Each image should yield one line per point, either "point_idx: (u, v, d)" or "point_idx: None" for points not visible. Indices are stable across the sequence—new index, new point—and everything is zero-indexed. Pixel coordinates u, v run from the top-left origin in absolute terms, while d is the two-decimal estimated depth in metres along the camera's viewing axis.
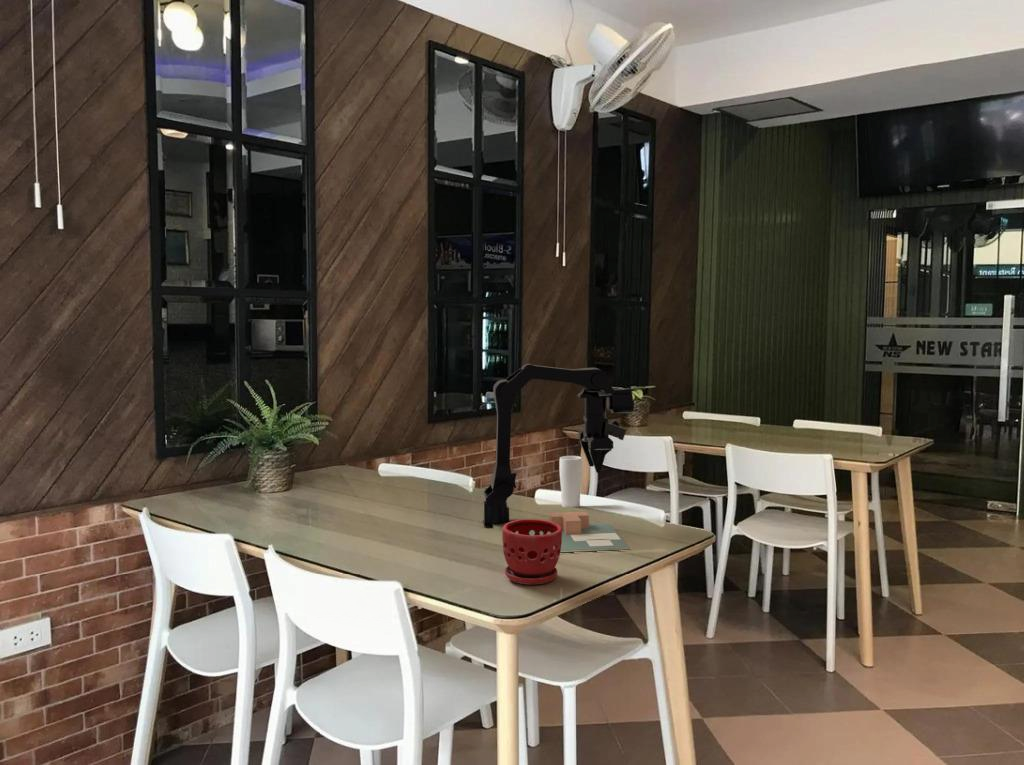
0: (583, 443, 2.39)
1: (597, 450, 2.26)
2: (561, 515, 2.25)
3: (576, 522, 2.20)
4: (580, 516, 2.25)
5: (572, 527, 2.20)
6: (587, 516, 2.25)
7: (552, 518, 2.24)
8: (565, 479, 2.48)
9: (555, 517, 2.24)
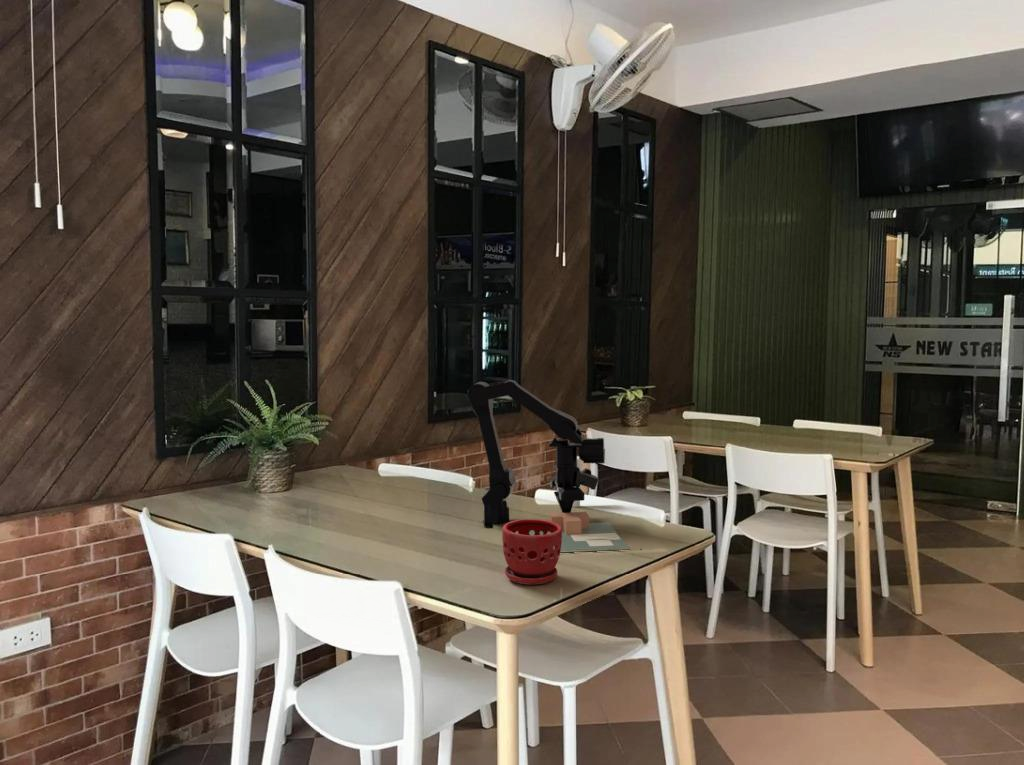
0: None
1: None
2: (561, 515, 2.25)
3: (576, 522, 2.20)
4: (580, 516, 2.25)
5: (572, 528, 2.20)
6: (587, 516, 2.25)
7: (552, 518, 2.24)
8: None
9: (555, 517, 2.24)
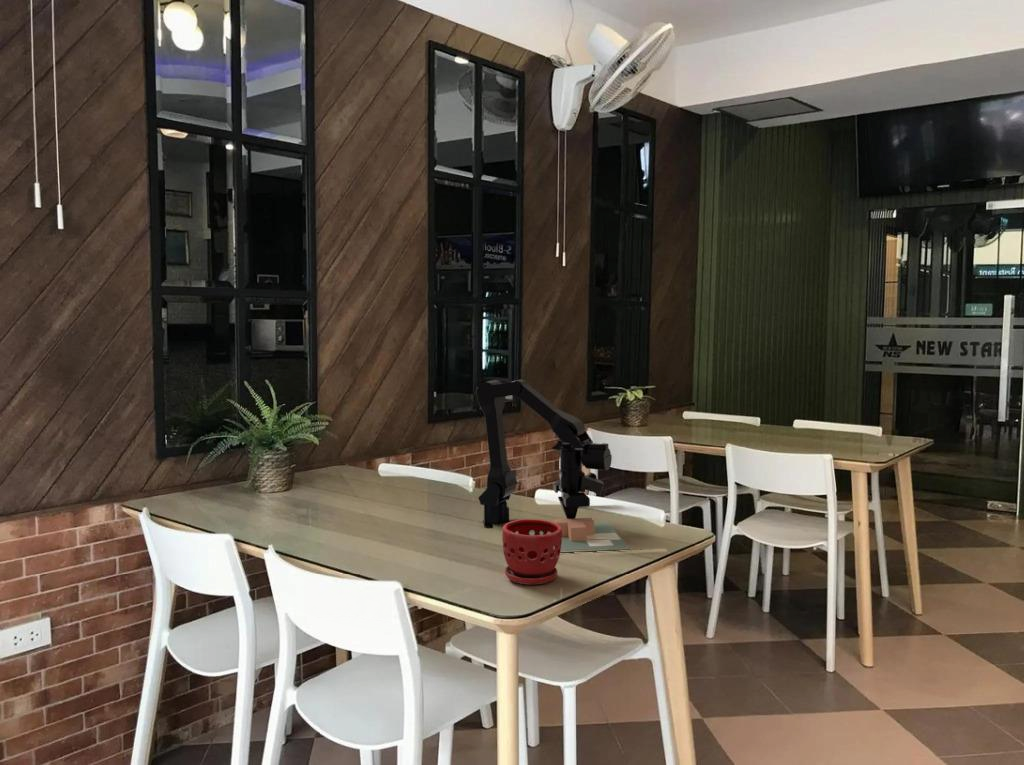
0: None
1: None
2: (566, 521, 2.19)
3: (582, 529, 2.13)
4: (585, 522, 2.19)
5: (577, 534, 2.13)
6: (592, 522, 2.19)
7: None
8: None
9: (560, 523, 2.18)
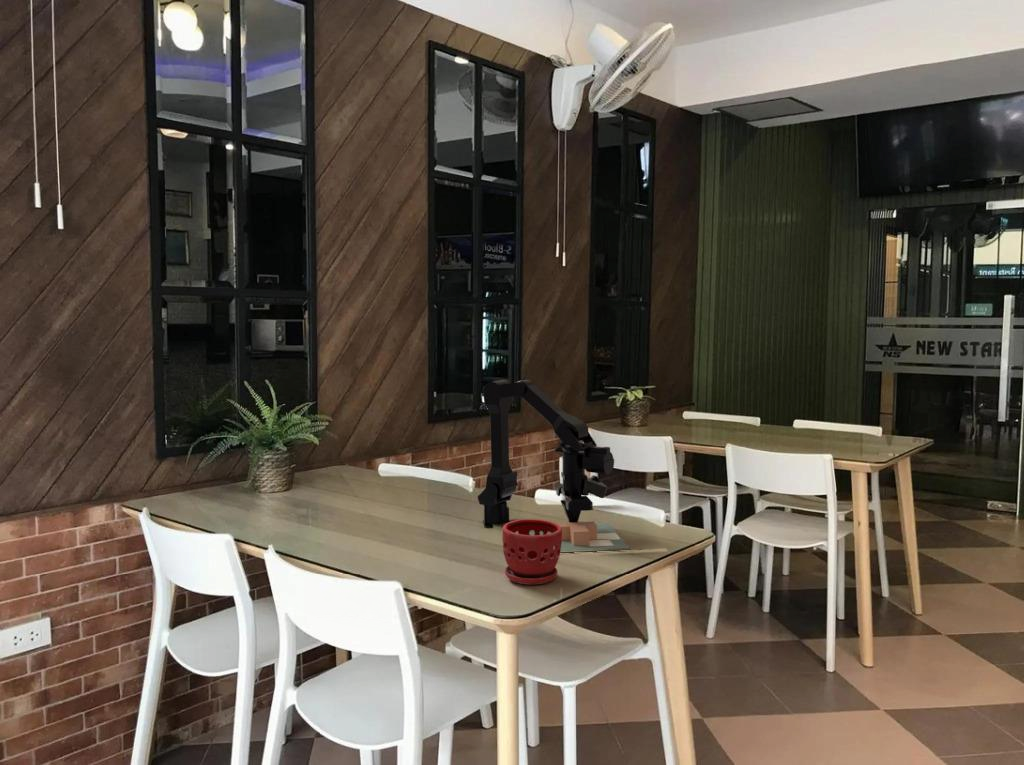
0: (564, 504, 2.19)
1: None
2: (568, 525, 2.15)
3: (584, 533, 2.10)
4: (588, 526, 2.15)
5: (580, 538, 2.10)
6: (595, 526, 2.15)
7: None
8: None
9: (562, 527, 2.14)
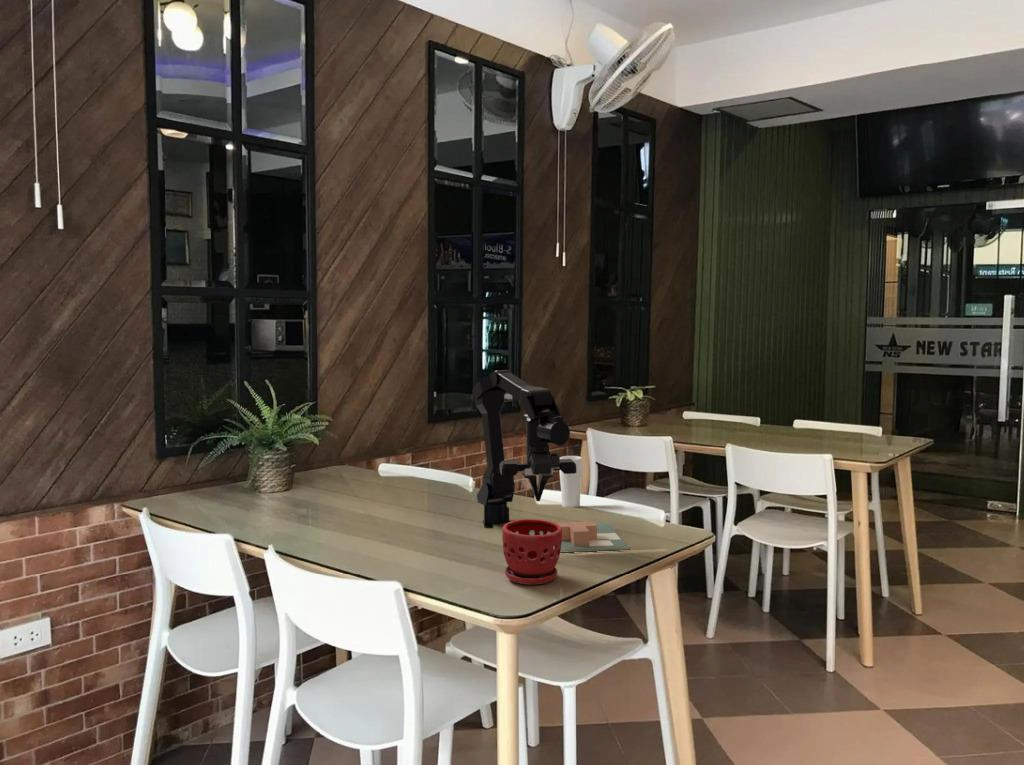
0: (539, 473, 2.15)
1: (523, 474, 2.13)
2: (568, 525, 2.15)
3: (584, 533, 2.10)
4: (588, 526, 2.15)
5: (580, 538, 2.10)
6: (595, 526, 2.15)
7: None
8: (565, 479, 2.48)
9: (562, 527, 2.14)
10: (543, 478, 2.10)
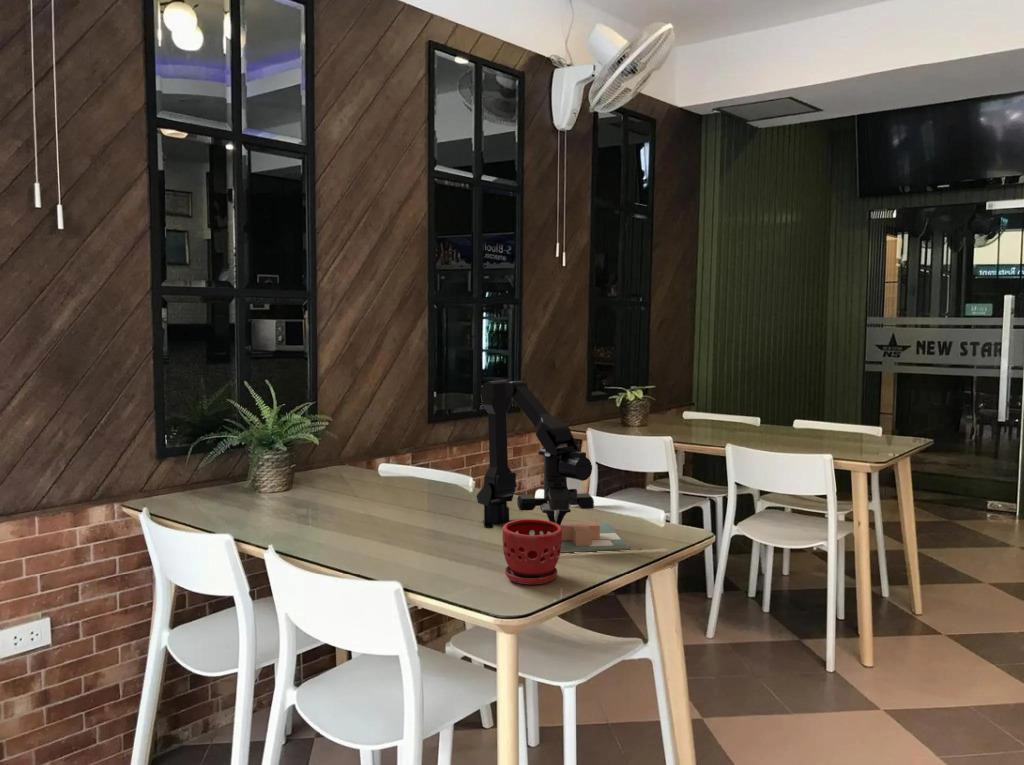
0: None
1: (540, 508, 2.14)
2: (571, 525, 2.15)
3: (587, 533, 2.10)
4: (591, 526, 2.15)
5: (582, 538, 2.10)
6: (598, 526, 2.15)
7: None
8: None
9: (565, 527, 2.14)
10: (560, 513, 2.11)
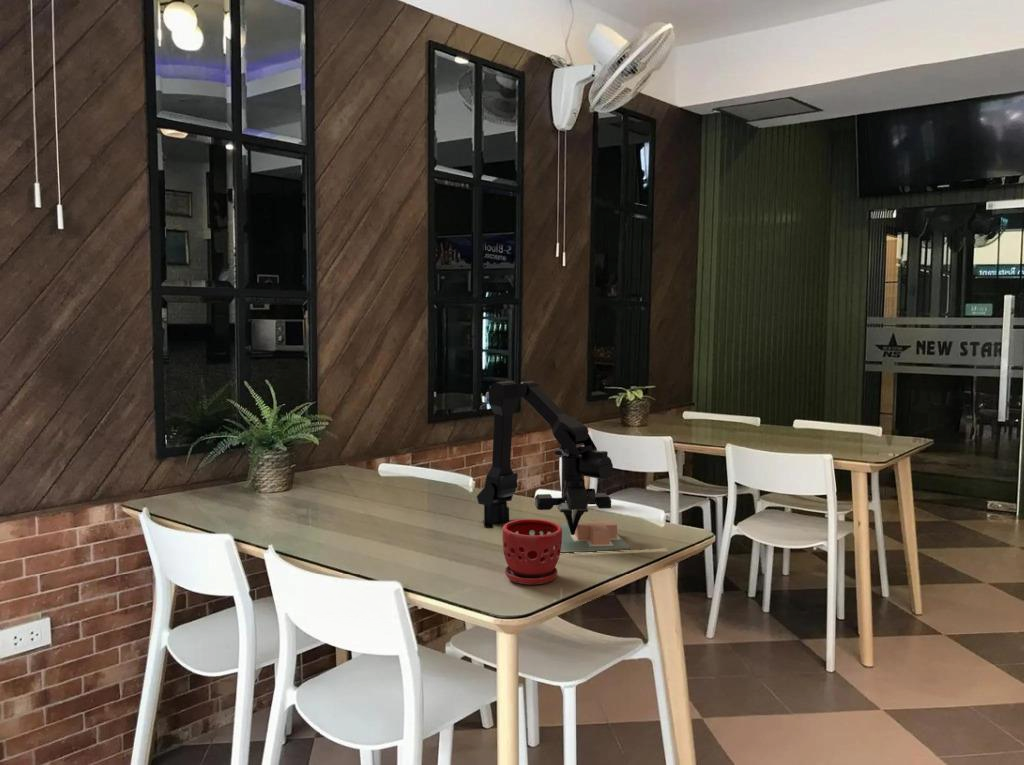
0: None
1: (558, 507, 2.15)
2: (588, 524, 2.16)
3: (604, 532, 2.10)
4: (608, 526, 2.15)
5: (600, 538, 2.10)
6: (615, 526, 2.15)
7: (579, 528, 2.14)
8: None
9: (582, 526, 2.15)
10: (578, 512, 2.12)
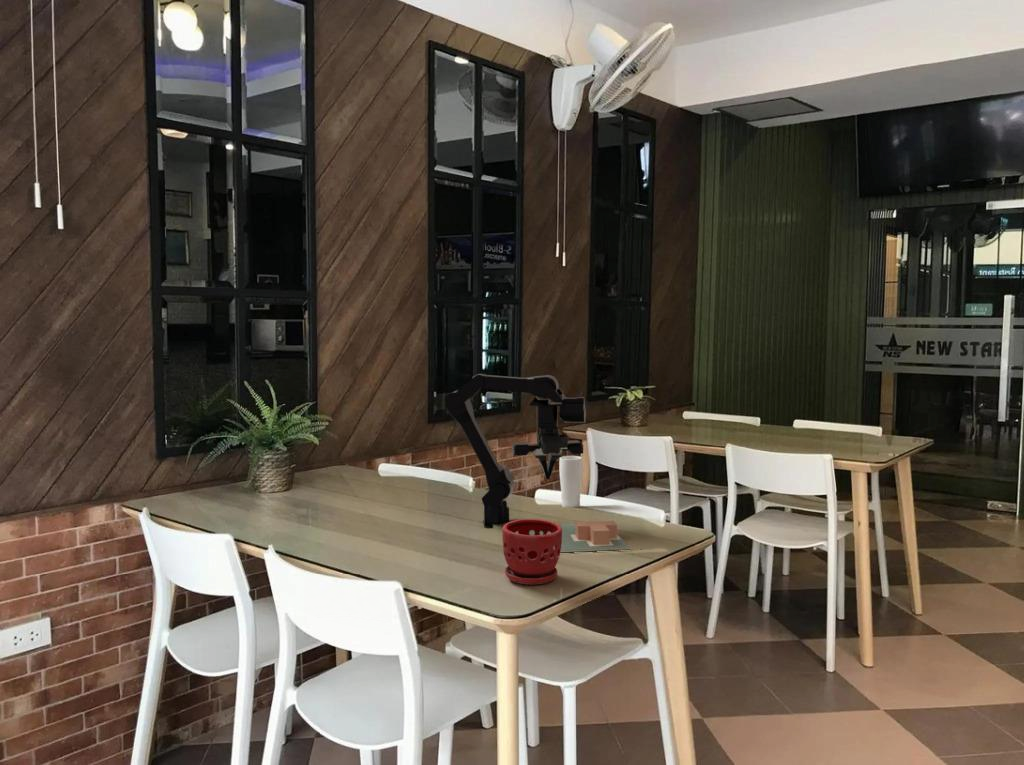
0: (548, 454, 2.31)
1: (533, 454, 2.30)
2: (588, 524, 2.16)
3: (604, 532, 2.10)
4: (608, 526, 2.15)
5: (600, 538, 2.10)
6: (615, 526, 2.15)
7: (579, 528, 2.14)
8: (565, 479, 2.48)
9: (582, 526, 2.15)
10: (552, 458, 2.27)
